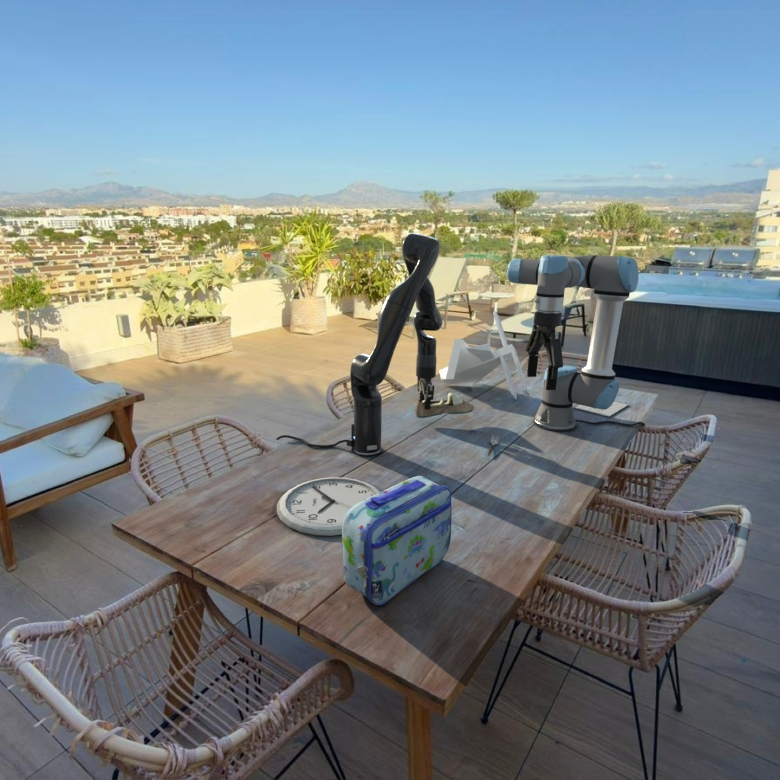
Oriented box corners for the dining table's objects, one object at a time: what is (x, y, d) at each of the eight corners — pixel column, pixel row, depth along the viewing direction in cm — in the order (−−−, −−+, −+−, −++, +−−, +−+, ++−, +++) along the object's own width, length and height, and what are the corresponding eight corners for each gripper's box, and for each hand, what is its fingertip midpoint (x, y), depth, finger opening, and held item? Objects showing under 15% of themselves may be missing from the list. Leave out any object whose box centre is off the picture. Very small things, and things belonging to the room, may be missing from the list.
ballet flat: (478, 413, 204) (478, 393, 201) (418, 422, 198) (418, 401, 195) (469, 406, 211) (469, 387, 209) (412, 414, 205) (411, 394, 203)
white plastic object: (461, 429, 252) (437, 405, 227) (444, 352, 274) (420, 323, 250) (535, 404, 240) (518, 377, 215) (510, 326, 262) (492, 293, 237)
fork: (484, 456, 175) (484, 450, 174) (492, 439, 189) (492, 434, 188) (491, 457, 174) (492, 452, 173) (499, 440, 188) (499, 435, 188)
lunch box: (371, 618, 102) (371, 524, 95) (336, 591, 109) (334, 502, 103) (455, 562, 119) (460, 479, 113) (420, 542, 126) (423, 463, 120)
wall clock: (392, 527, 129) (268, 531, 127) (391, 533, 130) (269, 537, 127) (383, 473, 158) (282, 475, 155) (383, 478, 158) (282, 480, 156)
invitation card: (608, 416, 214) (573, 407, 224) (608, 416, 214) (573, 408, 224) (628, 404, 229) (594, 396, 238) (628, 405, 229) (594, 397, 238)
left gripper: (411, 360, 203) (410, 401, 208) (422, 369, 190) (421, 413, 195) (429, 359, 205) (428, 400, 210) (442, 368, 191) (440, 412, 196)
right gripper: (519, 305, 160) (513, 371, 166) (555, 318, 136) (546, 396, 143) (542, 304, 161) (535, 371, 167) (582, 318, 137) (572, 395, 144)
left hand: (424, 406), depth 202 cm, fingers closed on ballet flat, 5 cm apart
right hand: (540, 382), depth 155 cm, fingers open, 13 cm apart
